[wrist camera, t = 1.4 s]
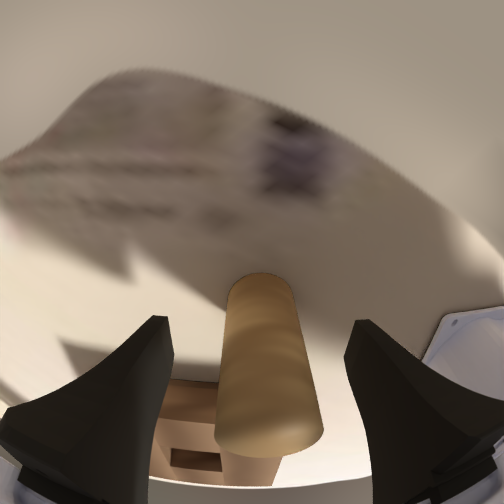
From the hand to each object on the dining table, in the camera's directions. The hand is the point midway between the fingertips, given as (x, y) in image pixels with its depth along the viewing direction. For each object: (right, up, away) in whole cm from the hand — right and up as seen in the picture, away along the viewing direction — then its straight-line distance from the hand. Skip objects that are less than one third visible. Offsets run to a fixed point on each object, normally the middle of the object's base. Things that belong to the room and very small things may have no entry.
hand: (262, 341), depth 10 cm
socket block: (-4, -10, +7) cm, 13 cm away
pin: (0, +1, +3) cm, 3 cm away
